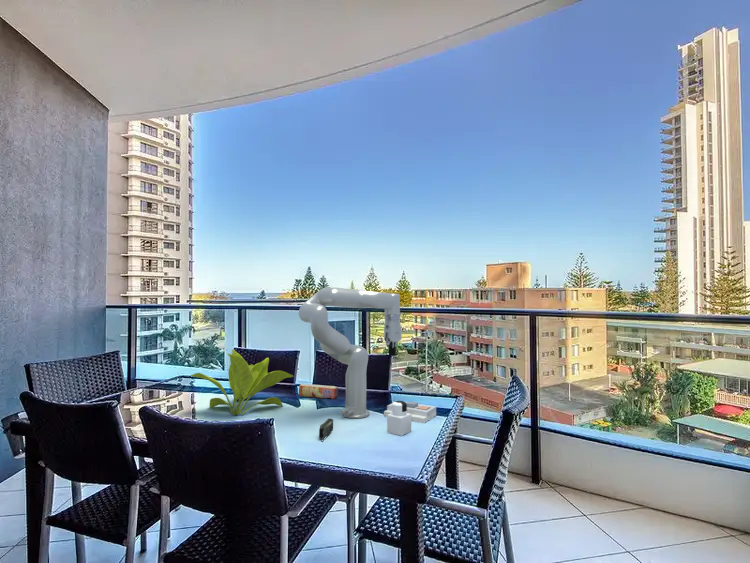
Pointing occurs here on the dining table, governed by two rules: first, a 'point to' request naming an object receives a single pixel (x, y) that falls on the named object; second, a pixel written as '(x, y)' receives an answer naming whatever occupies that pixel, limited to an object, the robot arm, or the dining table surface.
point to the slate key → (412, 404)
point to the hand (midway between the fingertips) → (392, 355)
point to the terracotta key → (423, 408)
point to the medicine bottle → (399, 419)
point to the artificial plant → (246, 382)
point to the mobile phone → (325, 428)
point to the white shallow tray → (416, 413)
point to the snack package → (318, 391)
